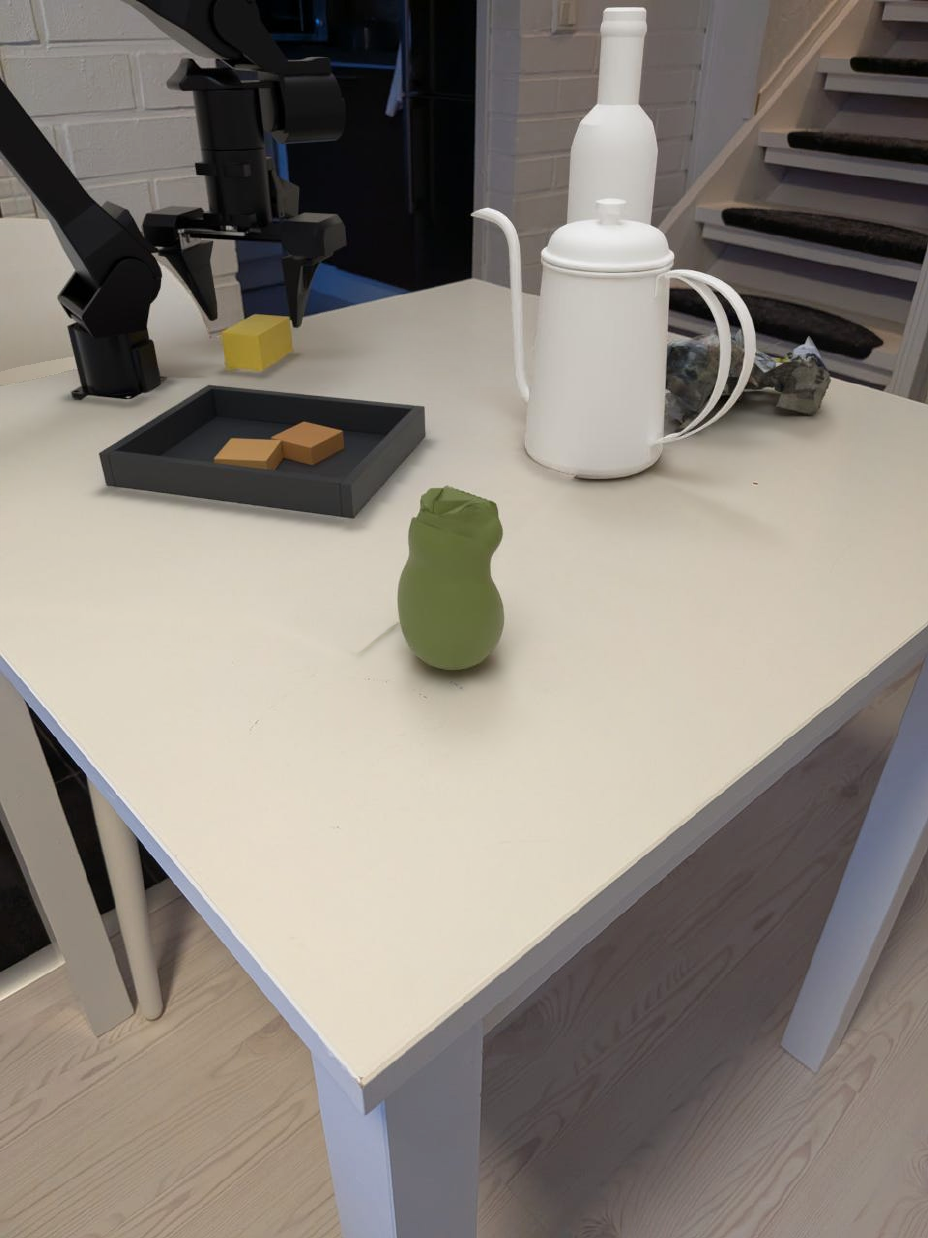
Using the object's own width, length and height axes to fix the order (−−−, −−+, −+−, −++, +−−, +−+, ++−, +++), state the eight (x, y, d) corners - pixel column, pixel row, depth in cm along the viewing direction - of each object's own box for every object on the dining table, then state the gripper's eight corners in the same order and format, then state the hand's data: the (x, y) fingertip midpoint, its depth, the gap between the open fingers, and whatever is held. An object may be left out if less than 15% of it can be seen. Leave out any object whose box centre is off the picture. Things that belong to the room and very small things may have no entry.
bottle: (560, 351, 96) (579, 8, 80) (636, 354, 95) (670, 7, 79) (556, 375, 89) (575, 6, 73) (637, 378, 88) (675, 6, 72)
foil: (864, 401, 73) (720, 293, 70) (768, 498, 79) (631, 402, 76) (835, 351, 83) (707, 254, 79) (751, 441, 89) (629, 354, 85)
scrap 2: (272, 455, 72) (270, 437, 71) (305, 438, 74) (303, 421, 74) (312, 465, 70) (310, 447, 69) (344, 448, 73) (343, 430, 72)
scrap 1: (216, 477, 68) (213, 458, 67) (233, 456, 72) (231, 437, 71) (268, 479, 68) (266, 460, 67) (283, 458, 71) (281, 439, 70)
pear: (381, 662, 49) (370, 493, 44) (445, 620, 53) (442, 459, 47) (461, 703, 46) (460, 527, 41) (523, 656, 50) (530, 488, 44)
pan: (107, 492, 67) (98, 452, 66) (213, 418, 80) (208, 384, 78) (353, 525, 63) (350, 484, 61) (425, 442, 75) (424, 406, 74)
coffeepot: (511, 400, 84) (517, 173, 73) (763, 476, 69) (813, 207, 59) (428, 433, 77) (421, 189, 67) (687, 524, 63) (728, 231, 52)
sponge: (226, 372, 91) (220, 332, 88) (259, 352, 96) (254, 313, 94) (262, 376, 90) (257, 335, 87) (293, 355, 95) (289, 316, 93)
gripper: (362, 141, 86) (372, 309, 95) (188, 136, 91) (212, 297, 99) (313, 154, 77) (329, 339, 86) (123, 148, 82) (155, 324, 90)
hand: (255, 323), depth 91 cm, fingers open, 9 cm apart
